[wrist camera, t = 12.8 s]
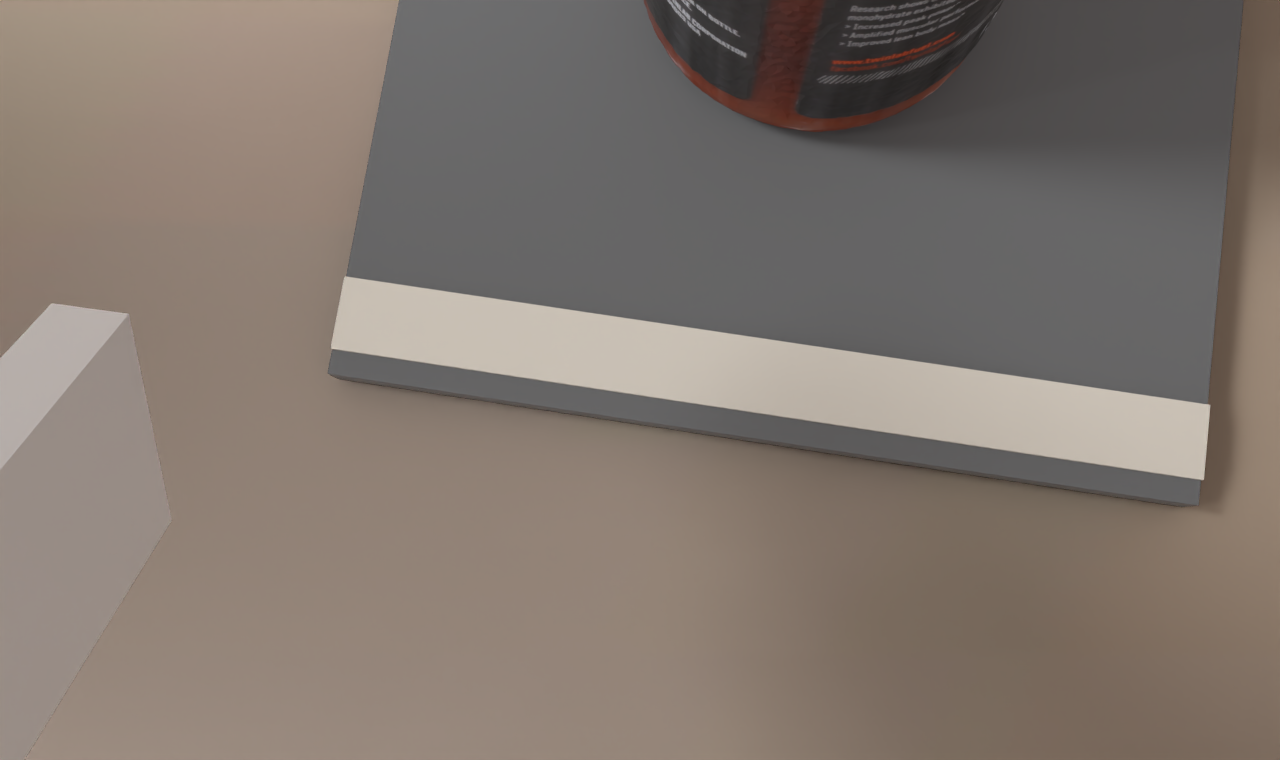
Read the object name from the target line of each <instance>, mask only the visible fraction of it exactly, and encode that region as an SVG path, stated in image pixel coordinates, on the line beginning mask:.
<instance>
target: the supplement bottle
mask: <svg viewBox="0 0 1280 760" xmlns="http://www.w3.org/2000/svg"><path fill="white" fill-rule="evenodd" d="M1003 1H1004V0H644V4H645V7H646V9H647V12H648V16H649V19H650V21H651V23H652V25H653V28H654V31H655V33H656V35H657V37H658V38H659V40H660V41H661V43H662V44H663V46H664V48H665V49H666V51H667V53H668V55H669V56H670V58H671V59H672V61H673V62H674V63H675V65H677V66H678V67H679V68H680V69H681V71H682V72H683V74H684V75H685V76H686V77H687V78H688V79H689V80H690V81H691V82H692V83H693V84H694V85H695V86H697V87H698V88H699V89H700V90H701V91H702V92H704V93H706V94H707V95H708V96H710V97H711V98H712V99H714V100H715V101H717V102H719V103H720V104H722V105H724V106H725V107H727V108H729V109H731V110H732V111H735V112H737V113H739V114H742V115H744V116H746V117H749V118H752V119H755V120H757V121H760V122H763V123H766V124H770V125H774V126H777V127H782V128H789V129H796V130H801V131H809V132H823V131H836V130H845V129H849V128H853V127H859V126H864V125H867V124H870V123H874V122H877V121H880V120H883V119H885V118H888V117H890V116H892V115H895V114H897V113H899V112H901V111H903V110H905V109H907V108H909V107H911V106H912V105H914V104H916V103H917V102H919V101H921V100H922V99H924V98H925V97H927V96H928V95H930V94H931V93H933V92H934V91H935V90H936V89H938V88H939V87H940V86H941V85H942V84H943V83H944V82H945V81H946V80H947V79H948V78H949V77H950V76H951V75H952V74H953V73H954V72H955V70H956V69H957V68H958V67H959V66H960V65H961V63H962V62H963V61H964V59H965V58H966V57H967V55H968V54H969V53H970V52H971V51H972V49H973V48H974V47H975V46H976V45H977V43H978V42H979V40H980V39H981V38H982V36H983V34H984V33H985V31H986V29H987V27H988V26H989V24H990V23H991V21H992V19H993V18H994V16H995V15H996V13H997V11H998V10H999V8H1000V6H1001V5H1002V3H1003Z"/></svg>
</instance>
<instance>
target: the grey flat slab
mask: <svg viewBox="0 0 1280 760" xmlns="http://www.w3.org/2000/svg"><path fill="white" fill-rule="evenodd" d="M1242 12H1243V0H1004V1H1003V3H1002V5H1001V6H1000V8H999V10H998V11H997V13H996V15H995V16H994V18H993V19H992V21H991V23H990V24H989V26H988V27H987V29H986V31H985V33H984V34H983V36H982V38H981V39H980V40H979V42H978V43H977V45H976V46H975V47H974V48H973V49H972V51H971V52H970V53H969V54H968V55H967V57H966V58H965V59H964V61H963V62H962V63H961V65H960V66H959V67H958V68H957V69H956V70H955V72H954V73H953V74H952V75H951V76H950V77H949V78H948V79H947V80H946V81H945V82H944V83H943V84H942V85H941V86H940V87H939V88H938V89H936V90H935V91H934V92H933V93H931V94H930V95H928V96H927V97H925V98H924V99H922V100H921V101H919V102H917V103H916V104H914V105H912V106H911V107H909V108H907V109H905V110H903V111H901V112H899V113H897V114H895V115H892V116H890V117H888V118H885V119H883V120H880V121H877V122H874V123H870V124H867V125H864V126H859V127H853V128H849V129H845V130H836V131H823V132H809V131H801V130H796V129H789V128H782V127H777V126H774V125H770V124H766V123H763V122H760V121H757V120H755V119H752V118H749V117H746V116H744V115H742V114H739V113H737V112H735V111H732V110H731V109H729V108H727V107H725V106H724V105H722V104H720V103H719V102H717V101H715V100H714V99H712V98H711V97H710V96H708V95H707V94H706V93H704V92H702V91H701V90H700V89H699V88H698V87H697V86H695V85H694V84H693V83H692V82H691V81H690V80H689V79H688V78H687V77H686V76H685V75H684V74H683V72H682V71H681V69H680V68H679V67H678V66H677V65H675V63H674V62H673V61H672V59H671V58H670V56H669V55H668V53H667V51H666V49H665V48H664V46H663V44H662V43H661V41H660V40H659V38H658V37H657V35H656V33H655V31H654V28H653V25H652V23H651V21H650V19H649V16H648V12H647V9H646V7H645V4H644V0H399V4H398V9H397V15H396V20H395V25H394V30H393V35H392V41H391V46H390V51H389V56H388V61H387V67H386V72H385V77H384V82H383V87H382V93H381V98H380V103H379V108H378V113H377V119H376V124H375V129H374V134H373V139H372V145H371V150H370V155H369V160H368V165H367V171H366V176H365V181H364V186H363V191H362V197H361V202H360V207H359V212H358V217H357V223H356V228H355V233H354V238H353V243H352V249H351V254H350V259H349V264H348V270H347V275H346V276H344V281H343V286H342V291H341V296H340V301H339V307H338V312H337V317H336V322H335V327H334V332H333V338H332V343H331V349H332V353H331V358H330V363H329V368H328V374H330V375H331V376H333V377H335V378H337V379H343V380H350V381H356V382H363V383H369V384H376V385H383V386H389V387H396V388H402V389H409V390H416V391H422V392H429V393H435V394H442V395H449V396H455V397H462V398H468V399H475V400H481V401H488V402H495V403H501V404H508V405H514V406H521V407H528V408H534V409H541V410H547V411H554V412H561V413H567V414H574V415H580V416H587V417H593V418H600V419H607V420H613V421H620V422H626V423H633V424H640V425H646V426H653V427H659V428H666V429H673V430H679V431H686V432H692V433H699V434H705V435H712V436H719V437H725V438H732V439H738V440H745V441H752V442H758V443H765V444H771V445H778V446H785V447H791V448H798V449H804V450H811V451H817V452H824V453H831V454H837V455H844V456H850V457H857V458H864V459H870V460H877V461H883V462H890V463H897V464H903V465H910V466H916V467H923V468H930V469H936V470H943V471H949V472H956V473H962V474H969V475H976V476H982V477H989V478H995V479H1002V480H1009V481H1015V482H1022V483H1028V484H1035V485H1042V486H1048V487H1055V488H1061V489H1068V490H1074V491H1081V492H1088V493H1094V494H1101V495H1107V496H1114V497H1121V498H1127V499H1134V500H1140V501H1147V502H1154V503H1160V504H1167V505H1173V506H1180V507H1186V506H1199V497H1200V485H1201V480H1204V473H1205V461H1206V450H1207V439H1208V427H1209V416H1210V405H1208V395H1209V384H1210V373H1211V361H1212V350H1213V339H1214V327H1215V316H1216V305H1217V294H1218V282H1219V271H1220V260H1221V249H1222V237H1223V226H1224V215H1225V203H1226V192H1227V181H1228V170H1229V158H1230V147H1231V136H1232V124H1233V113H1234V102H1235V91H1236V79H1237V68H1238V57H1239V46H1240V34H1241V23H1242Z"/></svg>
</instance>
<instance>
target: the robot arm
mask: <svg viewBox="0 0 1280 760" xmlns="http://www.w3.org/2000/svg"><path fill="white" fill-rule="evenodd" d="M171 521H172V518H171V513H170V508H169V503H168V498H167V494H166V489H165V484H164V479H163V474H162V470H161V465H160V460H159V455H158V450H157V446H156V441H155V436H154V431H153V426H152V422H151V417H150V412H149V407H148V402H147V398H146V393H145V388H144V383H143V378H142V374H141V369H140V364H139V359H138V354H137V350H136V345H135V340H134V335H133V330H132V326H131V321H130V316H129V314H127V313H120V312H113V311H106V310H98V309H91V308H84V307H77V306H69V305H62V304H55V303H51V304H50V305H49V306H48V307H47V309H46V310H45V311H44V312H43V313H42V314H41V315H40V316H39V317H38V318H37V319H36V320H35V321H34V322H33V324H32V325H31V326H30V327H29V328H28V329H27V330H26V331H25V332H24V333H23V334H22V335H21V336H20V338H19V339H18V340H17V341H16V342H15V343H14V344H13V345H12V346H11V347H10V348H9V349H8V350H7V351H6V353H5V354H4V355H3V356H2V357H1V358H0V760H25V758H26V757H27V755H28V753H29V752H30V750H31V748H32V747H33V745H34V744H35V742H36V740H37V739H38V737H39V735H40V734H41V732H42V731H43V729H44V727H45V726H46V724H47V722H48V721H49V719H50V718H51V716H52V714H53V713H54V711H55V709H56V708H57V706H58V705H59V703H60V701H61V700H62V698H63V696H64V695H65V693H66V692H67V690H68V688H69V687H70V685H71V683H72V682H73V680H74V679H75V677H76V675H77V674H78V672H79V670H80V669H81V667H82V666H83V664H84V662H85V661H86V659H87V657H88V656H89V654H90V653H91V651H92V649H93V648H94V646H95V644H96V643H97V641H98V640H99V638H100V636H101V635H102V633H103V631H104V630H105V628H106V627H107V625H108V623H109V622H110V620H111V618H112V617H113V615H114V614H115V612H116V610H117V609H118V607H119V605H120V604H121V602H122V601H123V599H124V597H125V596H126V594H127V592H128V591H129V589H130V588H131V586H132V584H133V583H134V581H135V580H136V578H137V576H138V575H139V573H140V571H141V570H142V568H143V567H144V565H145V563H146V562H147V560H148V558H149V557H150V555H151V554H152V552H153V550H154V549H155V547H156V545H157V544H158V542H159V541H160V539H161V537H162V536H163V534H164V532H165V531H166V529H167V528H168V526H169V524H170V523H171Z"/></svg>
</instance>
